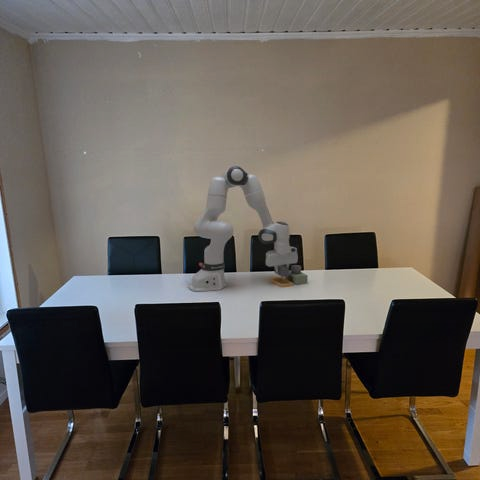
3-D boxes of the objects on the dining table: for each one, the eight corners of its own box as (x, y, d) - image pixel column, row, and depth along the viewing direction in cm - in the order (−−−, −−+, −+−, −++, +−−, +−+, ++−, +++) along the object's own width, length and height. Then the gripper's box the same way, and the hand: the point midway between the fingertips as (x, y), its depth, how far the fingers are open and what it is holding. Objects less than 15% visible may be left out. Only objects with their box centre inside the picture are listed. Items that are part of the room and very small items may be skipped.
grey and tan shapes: (281, 287, 221) (281, 272, 219) (270, 280, 234) (270, 266, 232) (307, 283, 228) (308, 268, 226) (295, 277, 240) (296, 263, 239)
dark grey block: (282, 277, 223) (282, 268, 222) (274, 272, 232) (274, 264, 231) (288, 276, 225) (288, 268, 224) (280, 271, 234) (280, 263, 233)
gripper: (268, 252, 218) (268, 275, 221) (299, 248, 226) (298, 271, 229) (263, 250, 224) (263, 272, 227) (293, 246, 232) (293, 268, 235)
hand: (281, 271), depth 228 cm, fingers closed on dark grey block, 4 cm apart
